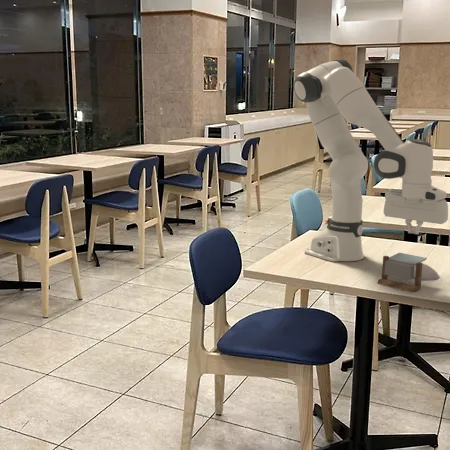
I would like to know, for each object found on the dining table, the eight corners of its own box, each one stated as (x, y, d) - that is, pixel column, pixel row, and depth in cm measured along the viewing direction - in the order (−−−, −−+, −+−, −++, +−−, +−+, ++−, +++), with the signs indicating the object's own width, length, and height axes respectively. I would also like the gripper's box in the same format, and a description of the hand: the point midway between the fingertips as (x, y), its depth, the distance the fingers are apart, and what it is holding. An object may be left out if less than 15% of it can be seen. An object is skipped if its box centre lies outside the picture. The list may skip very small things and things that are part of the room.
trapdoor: (383, 274, 185) (384, 259, 184) (398, 266, 194) (399, 252, 193) (411, 280, 179) (412, 265, 178) (425, 272, 188) (426, 257, 187)
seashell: (418, 260, 202) (444, 261, 194) (420, 276, 202) (445, 277, 194) (400, 265, 196) (426, 266, 188) (402, 281, 196) (428, 282, 188)
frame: (377, 283, 187) (379, 258, 185) (383, 280, 190) (385, 255, 188) (414, 292, 179) (417, 266, 177) (420, 288, 182) (422, 263, 180)
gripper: (381, 189, 187) (379, 230, 190) (444, 196, 174) (440, 240, 177) (390, 186, 191) (387, 227, 194) (451, 193, 178) (448, 236, 181)
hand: (413, 233), depth 185 cm, fingers closed
